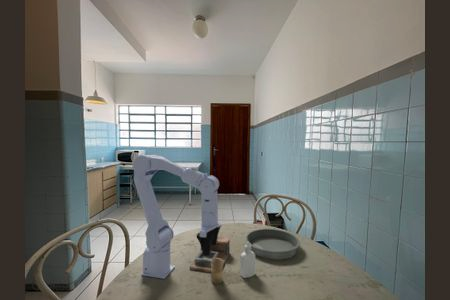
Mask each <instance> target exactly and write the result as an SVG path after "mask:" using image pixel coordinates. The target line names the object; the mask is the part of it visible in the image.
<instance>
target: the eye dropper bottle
mask: <svg viewBox="0 0 450 300" xmlns="http://www.w3.org/2000/svg"><path fill="white" fill-rule="evenodd" d="M239 258H240V259H239V264H240V265H239V274H240V276H241V277H242V278H243V279H246V278H251V277H253V276H255V274H256V254H255V253H254V252H253V251H251V245H249V242H247V241H246V244H245V245H244V251H243V252H241V254H240V256H239Z"/></svg>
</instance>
